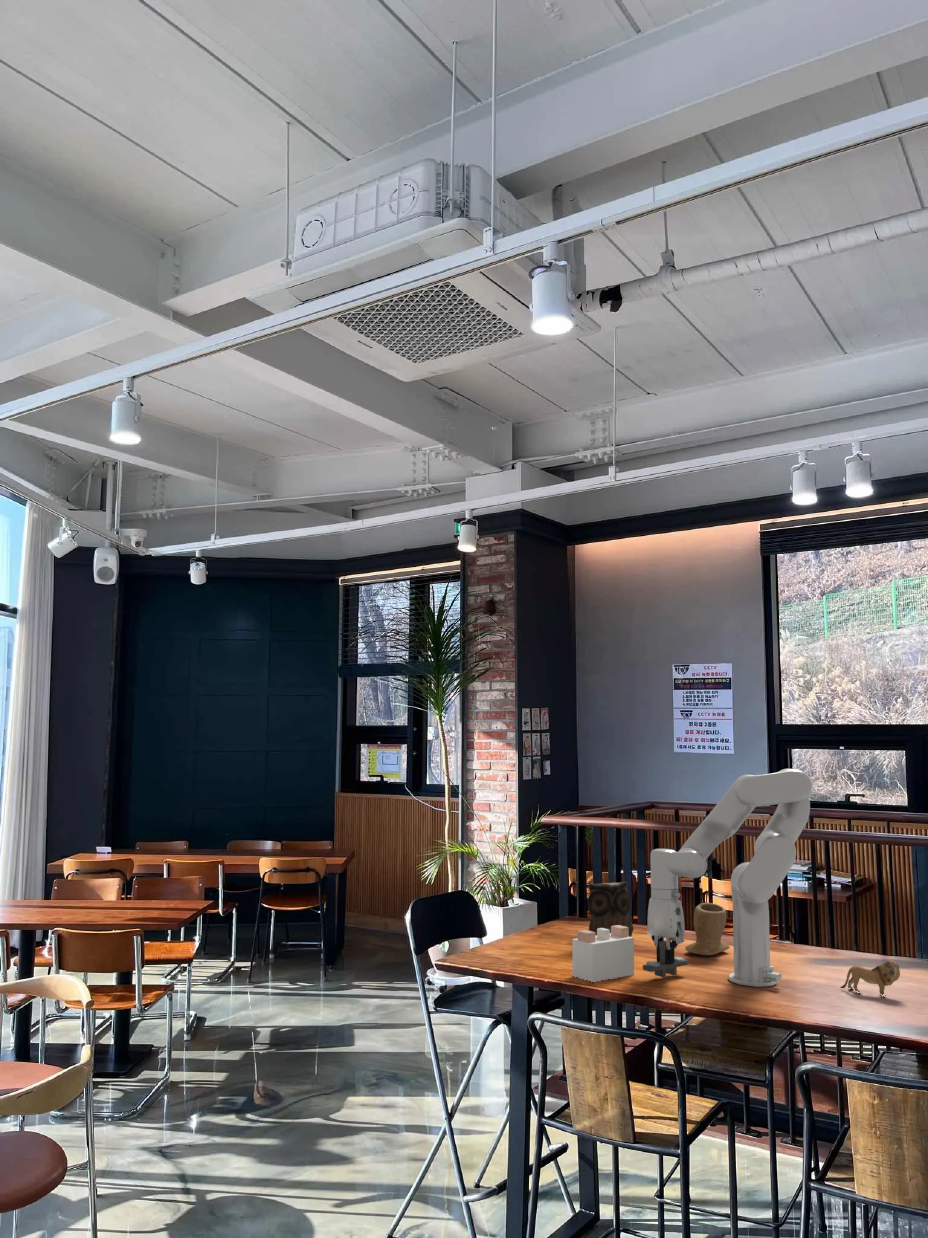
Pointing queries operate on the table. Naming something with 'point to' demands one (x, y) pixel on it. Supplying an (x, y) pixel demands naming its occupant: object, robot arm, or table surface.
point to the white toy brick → (603, 954)
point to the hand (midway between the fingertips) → (665, 962)
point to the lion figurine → (874, 975)
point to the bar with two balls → (660, 966)
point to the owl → (609, 906)
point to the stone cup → (708, 929)
